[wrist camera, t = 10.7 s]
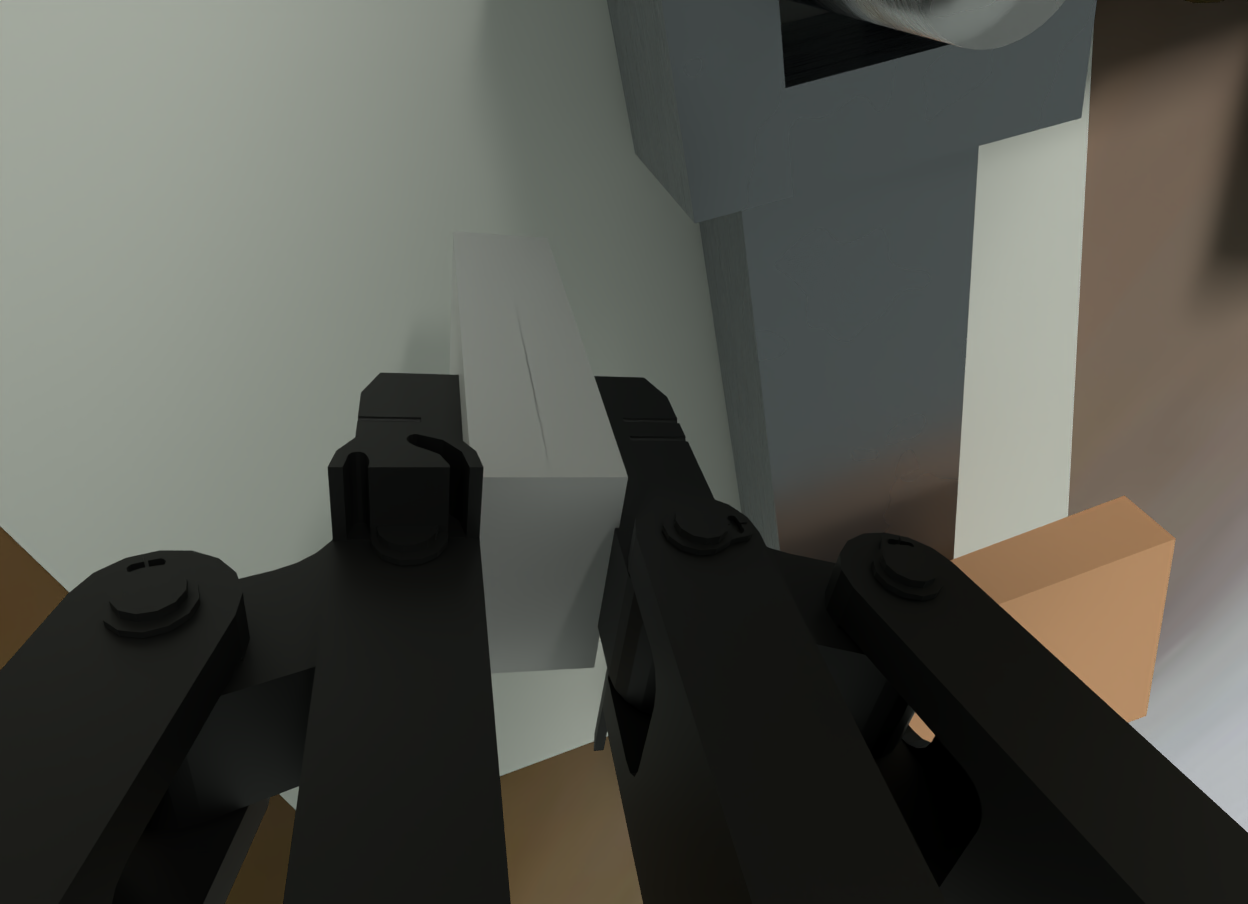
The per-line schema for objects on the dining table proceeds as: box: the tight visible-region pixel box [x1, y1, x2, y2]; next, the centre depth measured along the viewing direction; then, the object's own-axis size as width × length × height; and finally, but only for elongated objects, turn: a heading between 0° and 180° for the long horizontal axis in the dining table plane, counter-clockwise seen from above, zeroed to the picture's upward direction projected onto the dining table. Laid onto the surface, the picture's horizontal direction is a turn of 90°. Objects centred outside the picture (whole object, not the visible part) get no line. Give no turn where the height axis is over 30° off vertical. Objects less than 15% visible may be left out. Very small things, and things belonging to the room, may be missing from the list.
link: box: [607, 0, 1097, 563], centre depth 15 cm, size 18×6×4 cm, turn 11°
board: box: [0, 0, 1094, 810], centre depth 16 cm, size 24×32×1 cm
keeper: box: [909, 496, 1175, 742], centre depth 21 cm, size 8×7×7 cm
